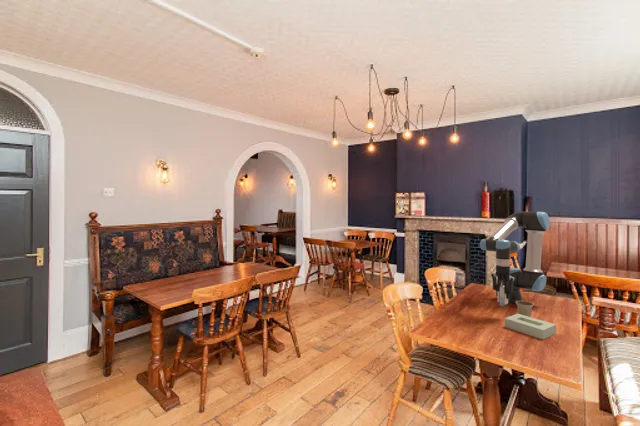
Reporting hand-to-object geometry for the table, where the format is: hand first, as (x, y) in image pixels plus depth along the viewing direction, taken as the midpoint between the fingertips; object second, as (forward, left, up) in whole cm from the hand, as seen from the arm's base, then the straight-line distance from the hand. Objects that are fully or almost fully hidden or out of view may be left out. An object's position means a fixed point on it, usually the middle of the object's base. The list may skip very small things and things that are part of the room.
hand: (502, 302), depth 196 cm
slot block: (+6, +18, -10) cm, 21 cm away
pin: (0, 0, -2) cm, 2 cm away
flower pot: (-13, +6, -10) cm, 18 cm away
